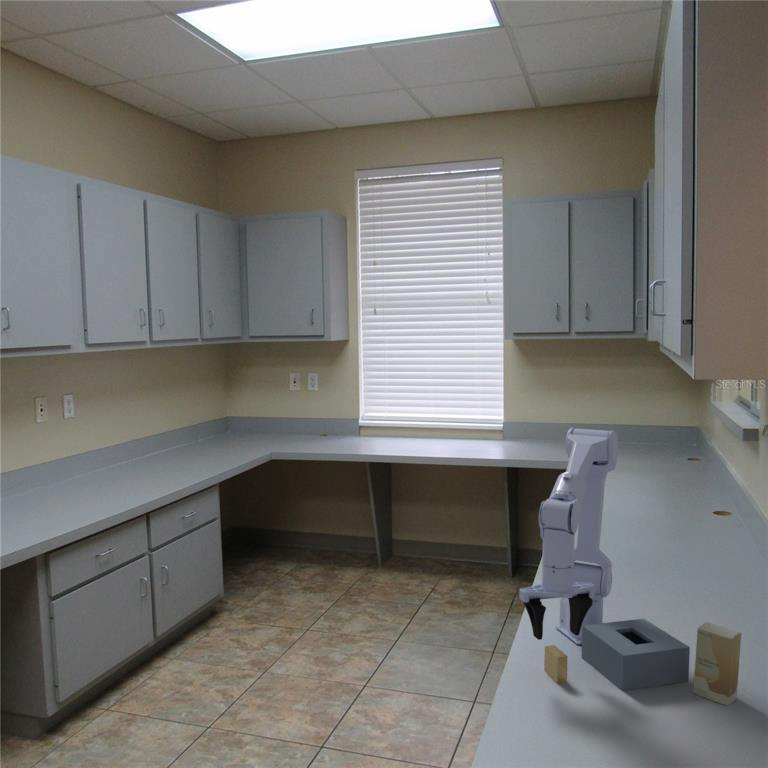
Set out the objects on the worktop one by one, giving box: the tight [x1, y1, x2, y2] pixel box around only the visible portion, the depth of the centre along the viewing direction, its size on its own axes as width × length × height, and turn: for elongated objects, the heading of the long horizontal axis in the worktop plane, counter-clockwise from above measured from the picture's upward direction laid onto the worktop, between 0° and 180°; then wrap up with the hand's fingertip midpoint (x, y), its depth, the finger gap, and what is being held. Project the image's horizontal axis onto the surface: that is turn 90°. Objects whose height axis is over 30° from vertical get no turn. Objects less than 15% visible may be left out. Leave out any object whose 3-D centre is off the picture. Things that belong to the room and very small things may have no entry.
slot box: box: [581, 618, 691, 691], centre depth 141 cm, size 14×14×6 cm
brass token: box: [543, 644, 568, 684], centre depth 138 cm, size 5×2×5 cm, turn 15°
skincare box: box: [692, 622, 742, 707], centre depth 130 cm, size 6×4×12 cm
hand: (556, 635), depth 137 cm, fingers open, 7 cm apart
